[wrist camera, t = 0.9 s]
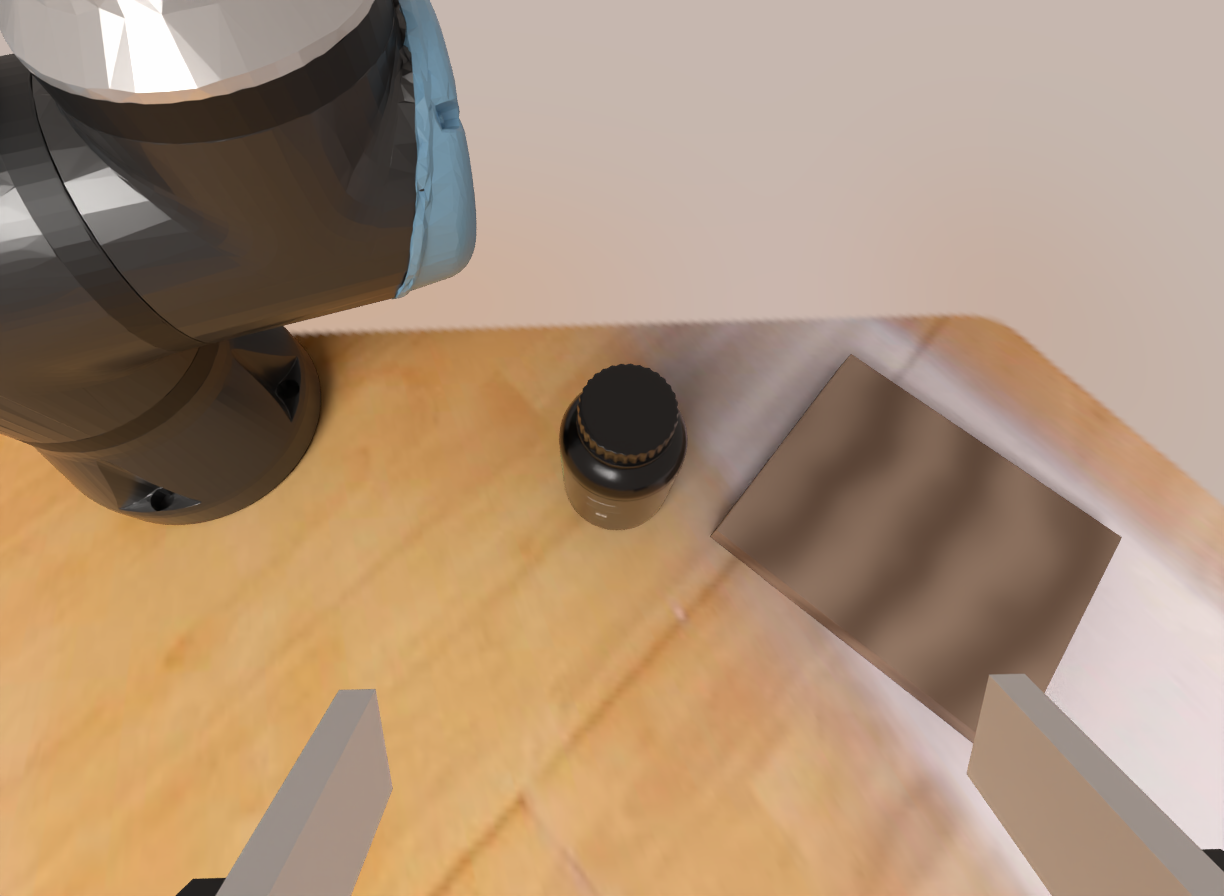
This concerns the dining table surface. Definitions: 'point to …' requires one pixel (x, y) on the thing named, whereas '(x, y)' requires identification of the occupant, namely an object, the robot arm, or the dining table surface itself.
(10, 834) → the dining table surface
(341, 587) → the dining table surface
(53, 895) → the dining table surface
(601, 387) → the supplement bottle
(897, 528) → the walnut board
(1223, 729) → the dining table surface
